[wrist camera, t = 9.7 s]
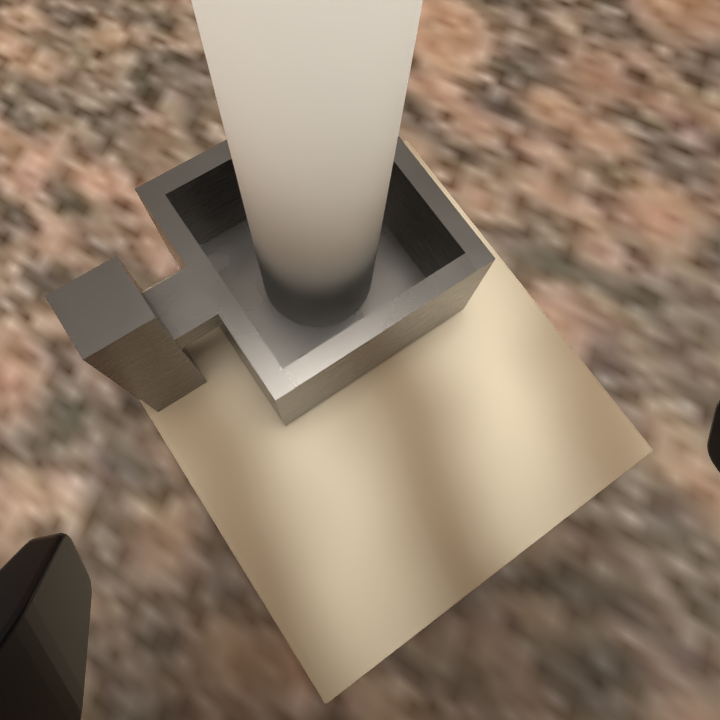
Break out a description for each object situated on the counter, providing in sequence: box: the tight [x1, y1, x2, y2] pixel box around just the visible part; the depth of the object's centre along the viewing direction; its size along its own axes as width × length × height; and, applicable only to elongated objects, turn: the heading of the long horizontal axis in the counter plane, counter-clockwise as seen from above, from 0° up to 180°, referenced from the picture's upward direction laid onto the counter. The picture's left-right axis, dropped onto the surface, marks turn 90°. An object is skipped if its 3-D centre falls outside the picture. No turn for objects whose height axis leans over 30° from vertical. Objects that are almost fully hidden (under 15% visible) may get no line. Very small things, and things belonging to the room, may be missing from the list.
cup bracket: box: [45, 136, 495, 426], centre depth 18 cm, size 10×7×6 cm
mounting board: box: [139, 140, 653, 704], centre depth 21 cm, size 13×14×1 cm
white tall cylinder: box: [191, 0, 423, 327], centre depth 14 cm, size 4×4×13 cm
